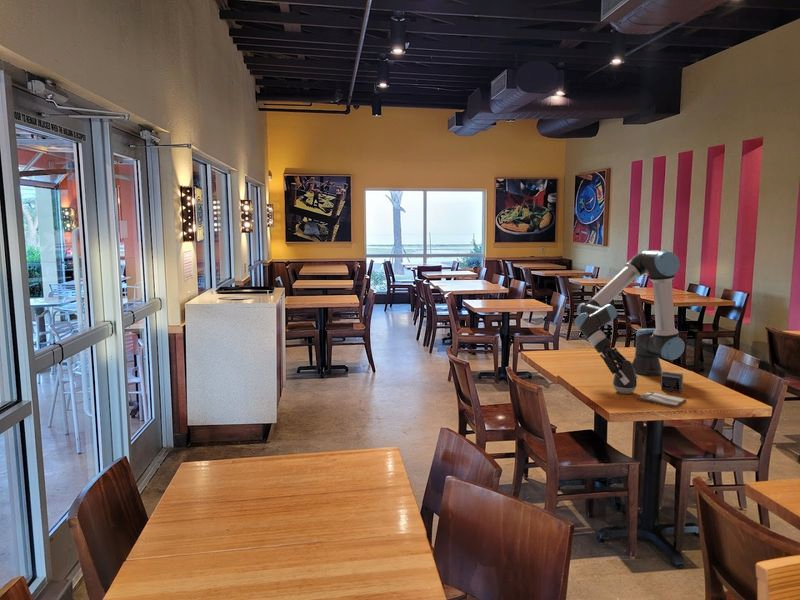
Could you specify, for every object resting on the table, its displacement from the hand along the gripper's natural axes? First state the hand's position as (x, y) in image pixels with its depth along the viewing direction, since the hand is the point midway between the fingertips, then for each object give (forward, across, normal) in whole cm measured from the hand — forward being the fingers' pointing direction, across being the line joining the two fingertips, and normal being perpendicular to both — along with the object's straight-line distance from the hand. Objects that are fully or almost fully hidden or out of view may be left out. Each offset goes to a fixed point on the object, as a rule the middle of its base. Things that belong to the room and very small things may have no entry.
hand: (631, 381), depth 274 cm
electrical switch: (+13, -18, +4) cm, 22 cm away
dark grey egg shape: (+2, 0, -6) cm, 7 cm away
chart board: (+14, +1, +6) cm, 15 cm away
